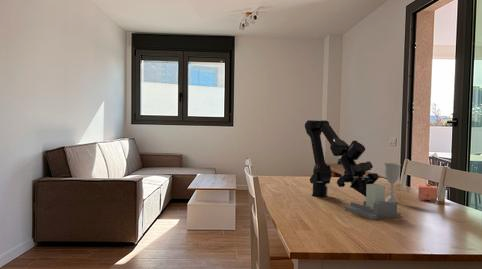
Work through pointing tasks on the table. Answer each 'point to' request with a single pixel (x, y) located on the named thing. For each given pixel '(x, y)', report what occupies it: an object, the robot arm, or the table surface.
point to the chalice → (392, 177)
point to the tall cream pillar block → (374, 194)
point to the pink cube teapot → (427, 192)
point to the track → (375, 210)
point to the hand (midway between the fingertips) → (367, 196)
